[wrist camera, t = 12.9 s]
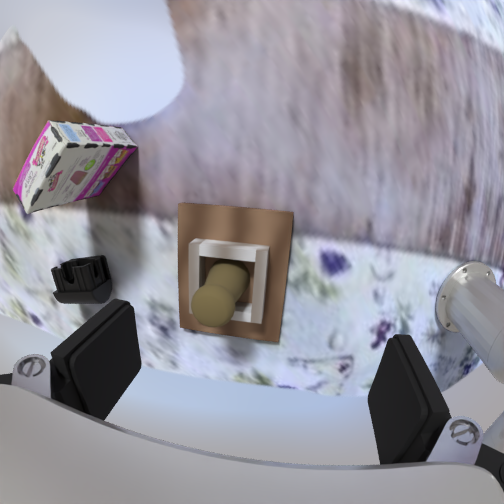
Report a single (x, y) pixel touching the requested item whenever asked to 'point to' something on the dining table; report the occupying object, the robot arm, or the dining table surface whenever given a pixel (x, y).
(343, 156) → the dining table surface
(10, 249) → the dining table surface
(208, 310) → the cork
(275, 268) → the socket board
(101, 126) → the candy bar box
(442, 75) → the dining table surface
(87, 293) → the end cap
